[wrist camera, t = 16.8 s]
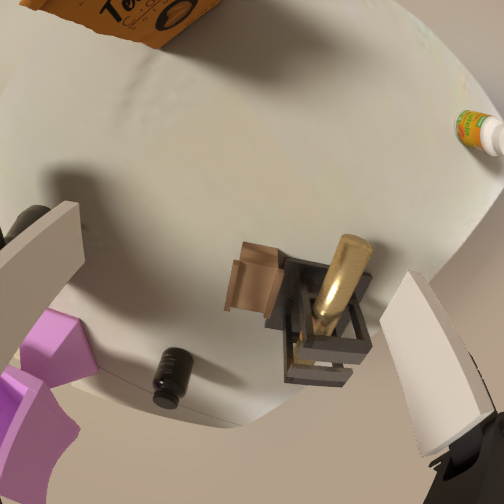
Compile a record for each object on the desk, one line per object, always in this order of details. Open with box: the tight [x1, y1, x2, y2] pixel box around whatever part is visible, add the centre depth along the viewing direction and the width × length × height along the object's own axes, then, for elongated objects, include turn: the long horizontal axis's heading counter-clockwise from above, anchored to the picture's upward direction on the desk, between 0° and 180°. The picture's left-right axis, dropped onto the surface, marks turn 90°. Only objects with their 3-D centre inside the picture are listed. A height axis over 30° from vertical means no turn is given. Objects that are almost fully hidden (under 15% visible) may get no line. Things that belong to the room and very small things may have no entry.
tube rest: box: [224, 242, 284, 319], centre depth 40 cm, size 6×8×6 cm
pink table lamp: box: [0, 308, 99, 504], centre depth 38 cm, size 22×22×45 cm
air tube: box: [293, 234, 373, 365], centre depth 37 cm, size 24×4×4 cm, turn 169°
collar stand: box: [265, 257, 372, 387], centre depth 39 cm, size 14×14×13 cm
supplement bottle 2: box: [455, 110, 504, 157], centre depth 24 cm, size 5×5×10 cm
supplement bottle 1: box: [153, 348, 194, 410], centre depth 50 cm, size 7×7×12 cm
